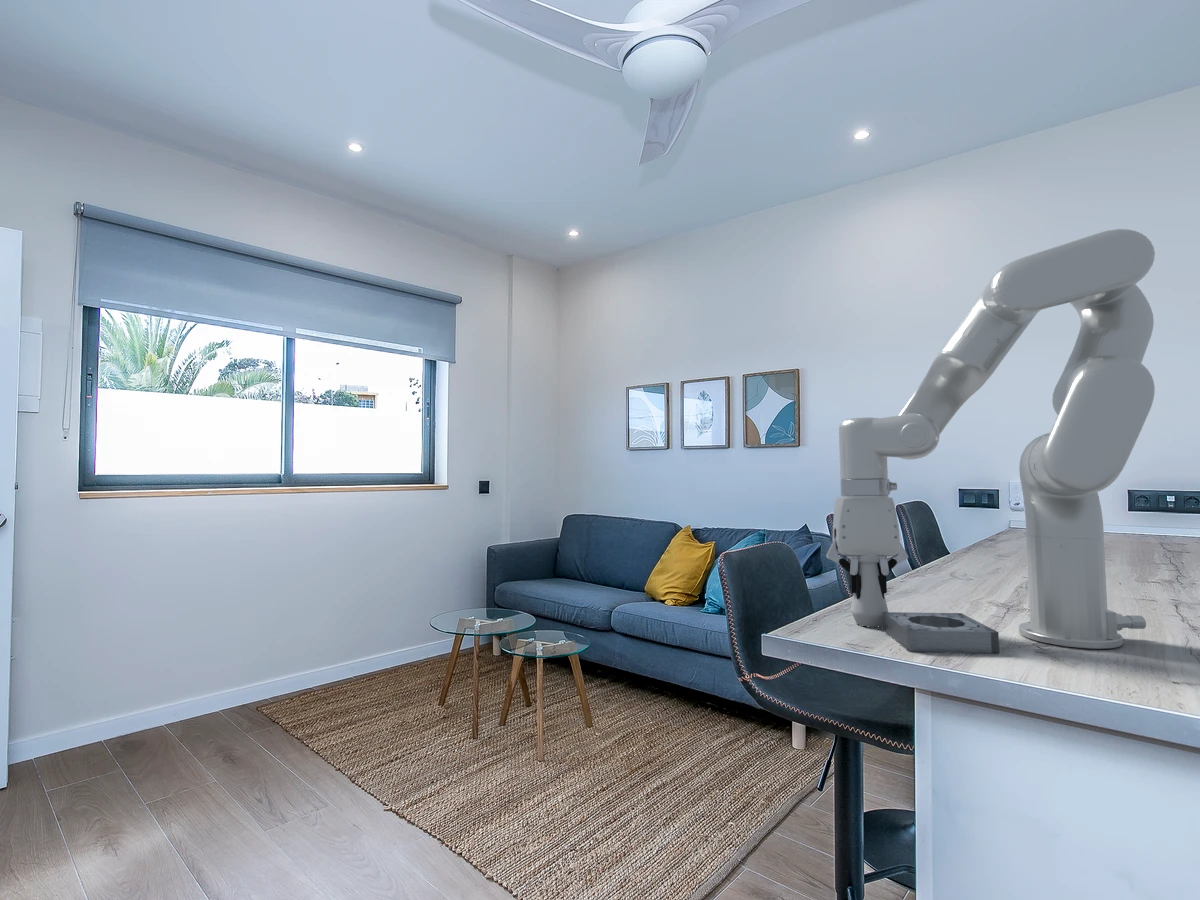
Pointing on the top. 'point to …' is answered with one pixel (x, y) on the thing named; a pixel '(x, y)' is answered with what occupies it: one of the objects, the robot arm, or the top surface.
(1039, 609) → the robot arm
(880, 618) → the salt shaker
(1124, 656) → the top surface
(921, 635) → the block
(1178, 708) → the top surface
